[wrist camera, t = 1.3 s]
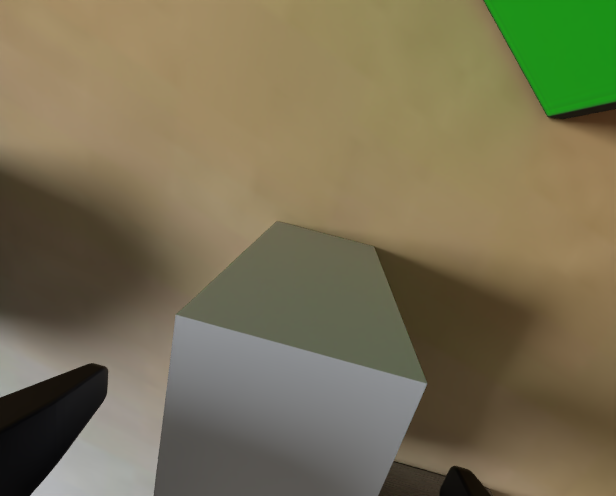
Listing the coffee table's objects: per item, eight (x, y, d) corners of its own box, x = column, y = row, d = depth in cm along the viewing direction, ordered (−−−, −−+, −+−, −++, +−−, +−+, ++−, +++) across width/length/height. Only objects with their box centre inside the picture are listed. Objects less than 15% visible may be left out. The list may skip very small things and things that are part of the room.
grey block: (320, 416, 13) (298, 681, 6) (238, 393, 13) (134, 630, 7) (374, 246, 11) (431, 384, 4) (275, 220, 11) (172, 313, 4)
